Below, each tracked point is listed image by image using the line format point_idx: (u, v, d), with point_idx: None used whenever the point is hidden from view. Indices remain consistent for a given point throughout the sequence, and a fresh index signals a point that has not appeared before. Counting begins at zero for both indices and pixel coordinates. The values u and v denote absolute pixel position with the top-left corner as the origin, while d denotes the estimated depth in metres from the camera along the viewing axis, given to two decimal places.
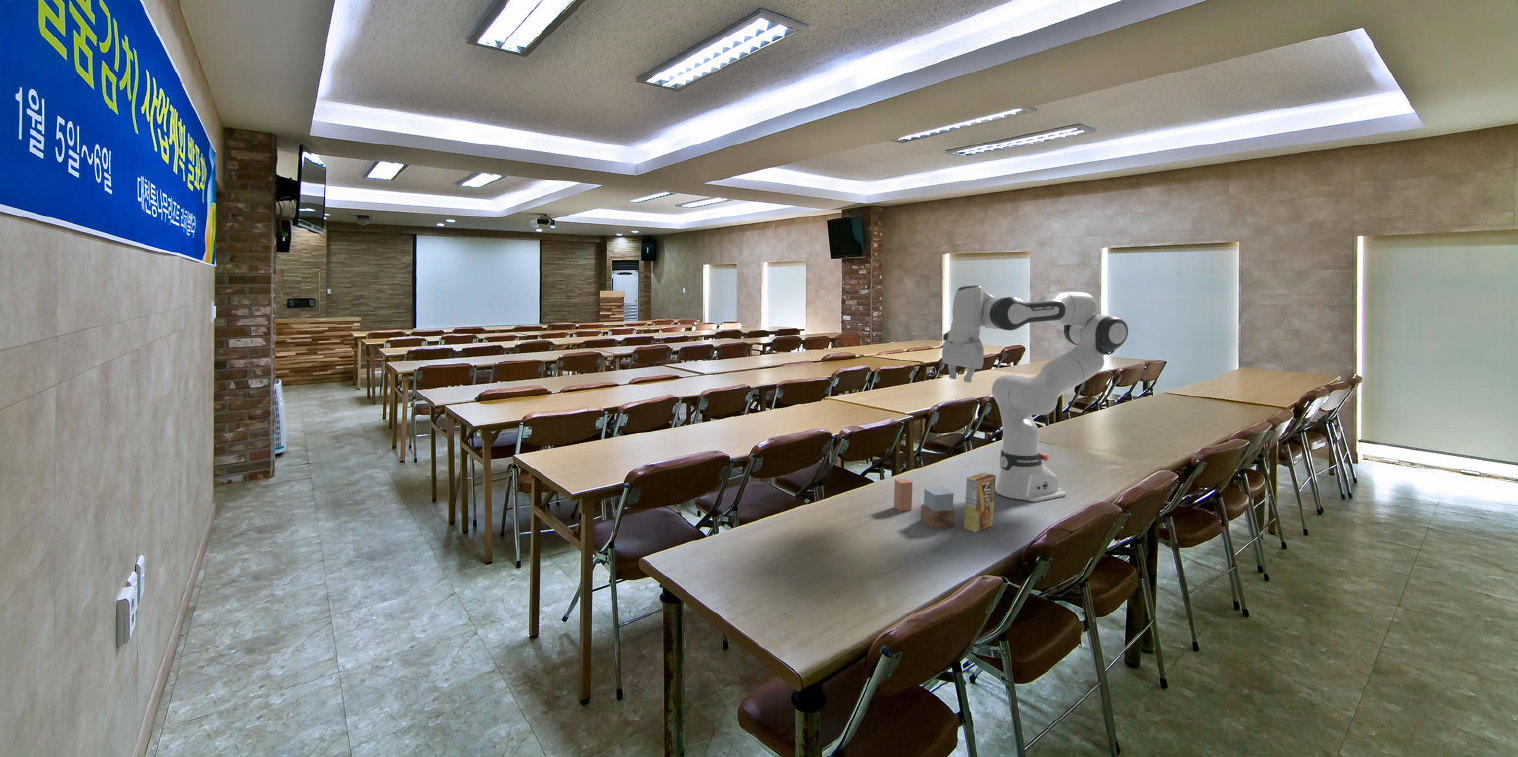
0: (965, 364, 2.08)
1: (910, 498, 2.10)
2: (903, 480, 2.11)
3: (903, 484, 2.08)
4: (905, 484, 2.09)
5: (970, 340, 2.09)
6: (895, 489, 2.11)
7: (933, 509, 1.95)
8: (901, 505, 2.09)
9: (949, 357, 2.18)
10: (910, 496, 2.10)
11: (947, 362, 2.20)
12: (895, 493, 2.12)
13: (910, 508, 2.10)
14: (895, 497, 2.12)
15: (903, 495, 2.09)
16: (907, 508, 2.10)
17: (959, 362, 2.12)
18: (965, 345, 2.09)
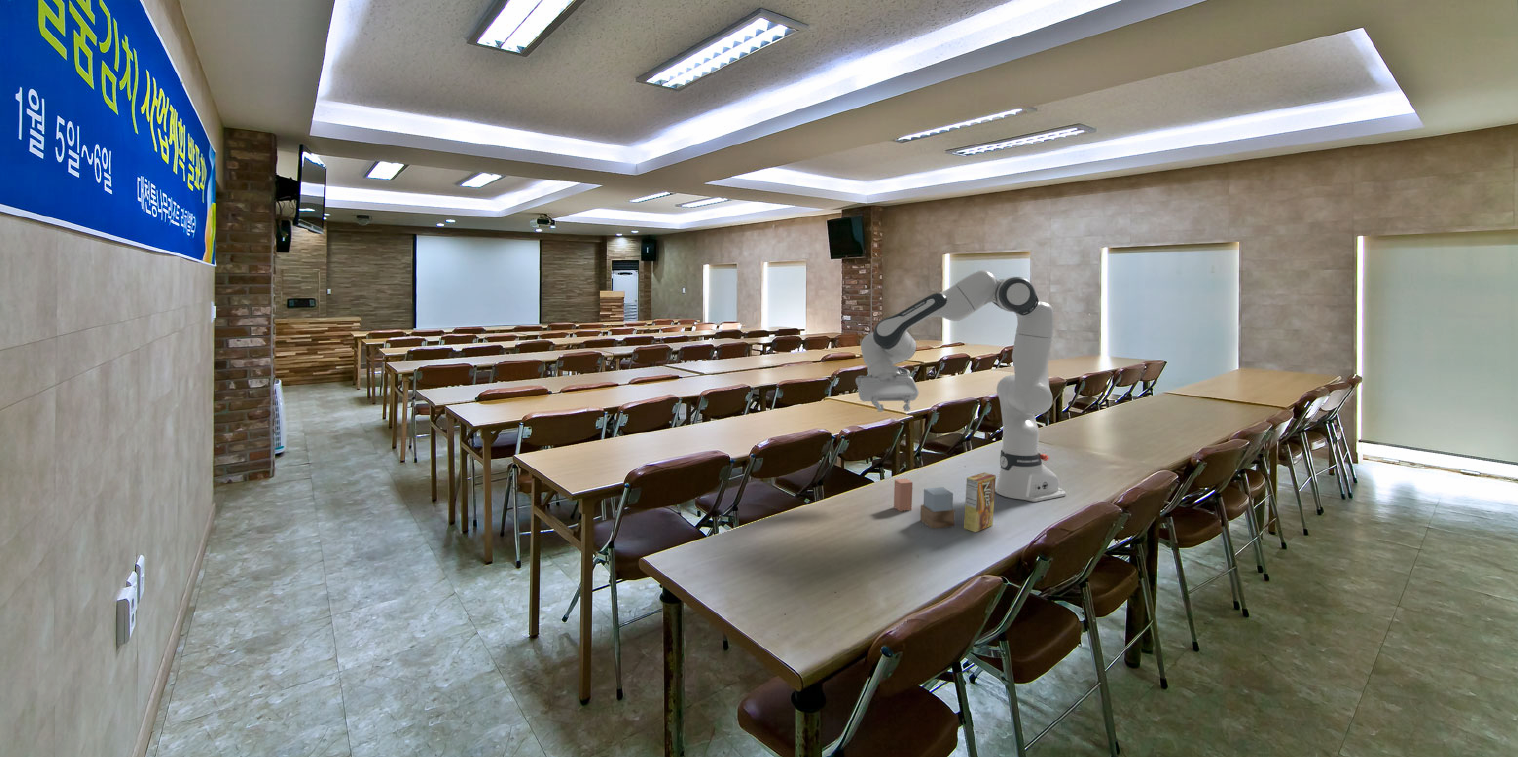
0: None
1: (910, 498, 2.10)
2: (903, 480, 2.11)
3: (903, 484, 2.08)
4: (905, 484, 2.09)
5: None
6: (895, 489, 2.11)
7: (933, 509, 1.95)
8: (901, 505, 2.09)
9: None
10: (910, 496, 2.10)
11: None
12: (895, 493, 2.12)
13: (910, 508, 2.10)
14: (895, 497, 2.12)
15: (903, 495, 2.09)
16: (907, 508, 2.10)
17: None
18: None
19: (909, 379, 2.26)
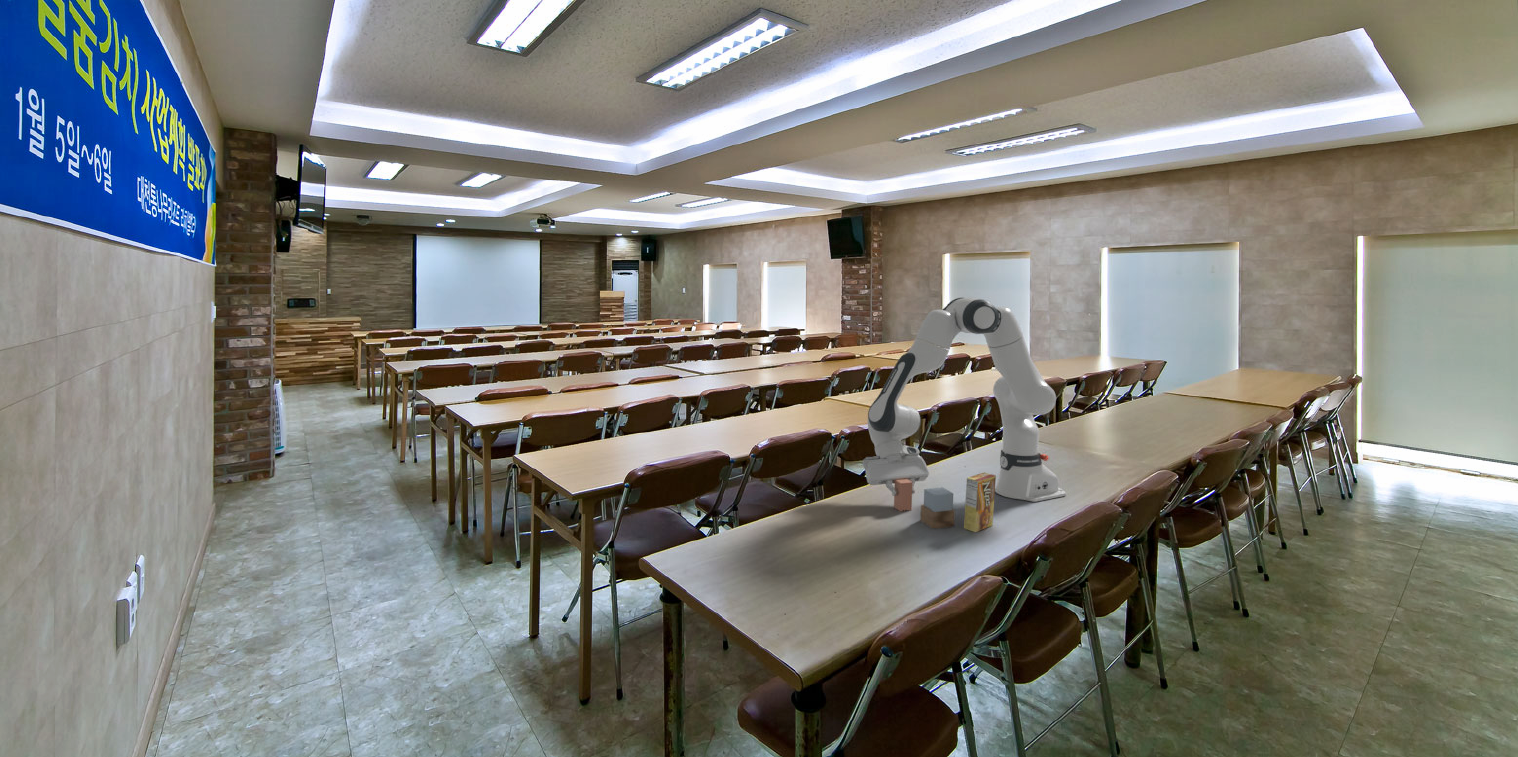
0: None
1: (910, 498, 2.10)
2: (903, 480, 2.11)
3: (903, 483, 2.08)
4: (905, 484, 2.09)
5: None
6: None
7: (933, 509, 1.95)
8: (901, 505, 2.09)
9: None
10: (910, 496, 2.10)
11: None
12: None
13: (910, 508, 2.10)
14: (895, 497, 2.12)
15: (903, 494, 2.09)
16: (907, 508, 2.10)
17: None
18: None
19: (919, 459, 2.17)
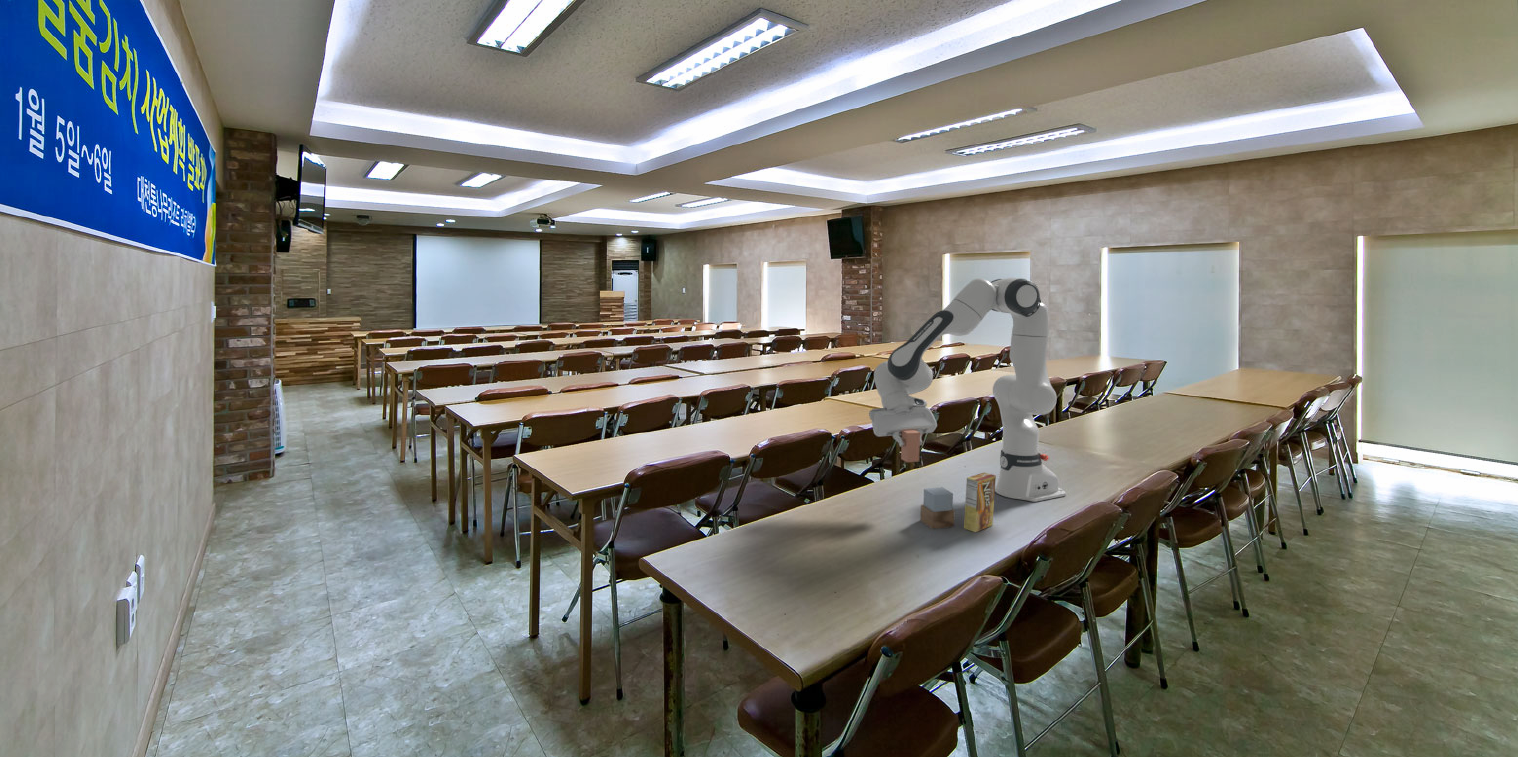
0: None
1: (918, 449, 2.05)
2: (910, 431, 2.07)
3: (910, 434, 2.04)
4: (912, 434, 2.04)
5: None
6: None
7: (932, 509, 1.95)
8: (908, 456, 2.05)
9: None
10: (917, 446, 2.05)
11: None
12: None
13: (918, 459, 2.06)
14: (902, 448, 2.08)
15: (910, 445, 2.05)
16: (915, 459, 2.06)
17: None
18: None
19: (926, 410, 2.12)
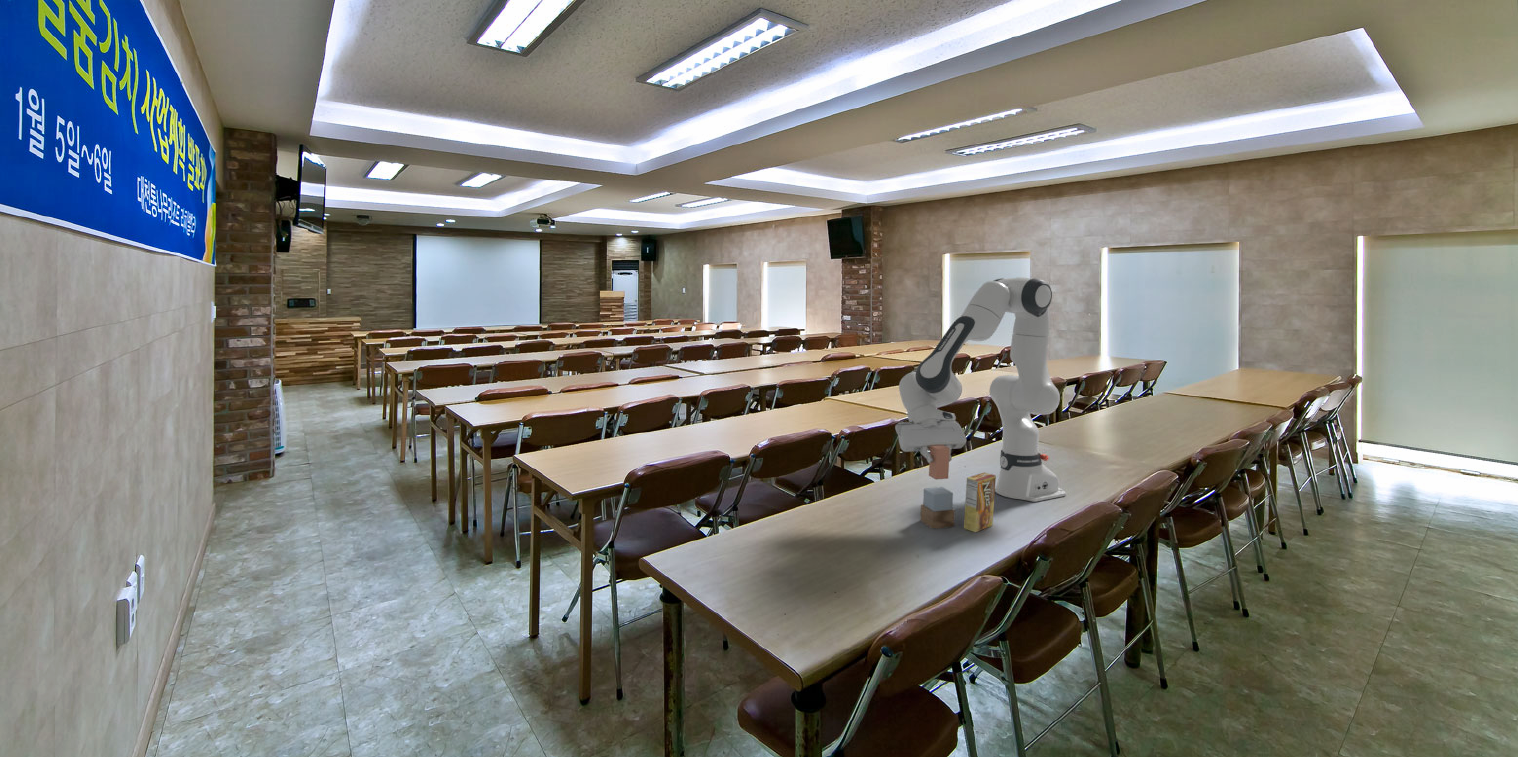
0: None
1: (947, 465, 1.95)
2: (939, 446, 1.96)
3: (940, 449, 1.94)
4: (942, 450, 1.94)
5: None
6: None
7: (933, 509, 1.96)
8: (937, 473, 1.95)
9: None
10: (946, 463, 1.95)
11: None
12: None
13: (947, 476, 1.96)
14: (930, 464, 1.97)
15: (940, 461, 1.94)
16: (944, 476, 1.95)
17: None
18: None
19: (955, 424, 2.02)
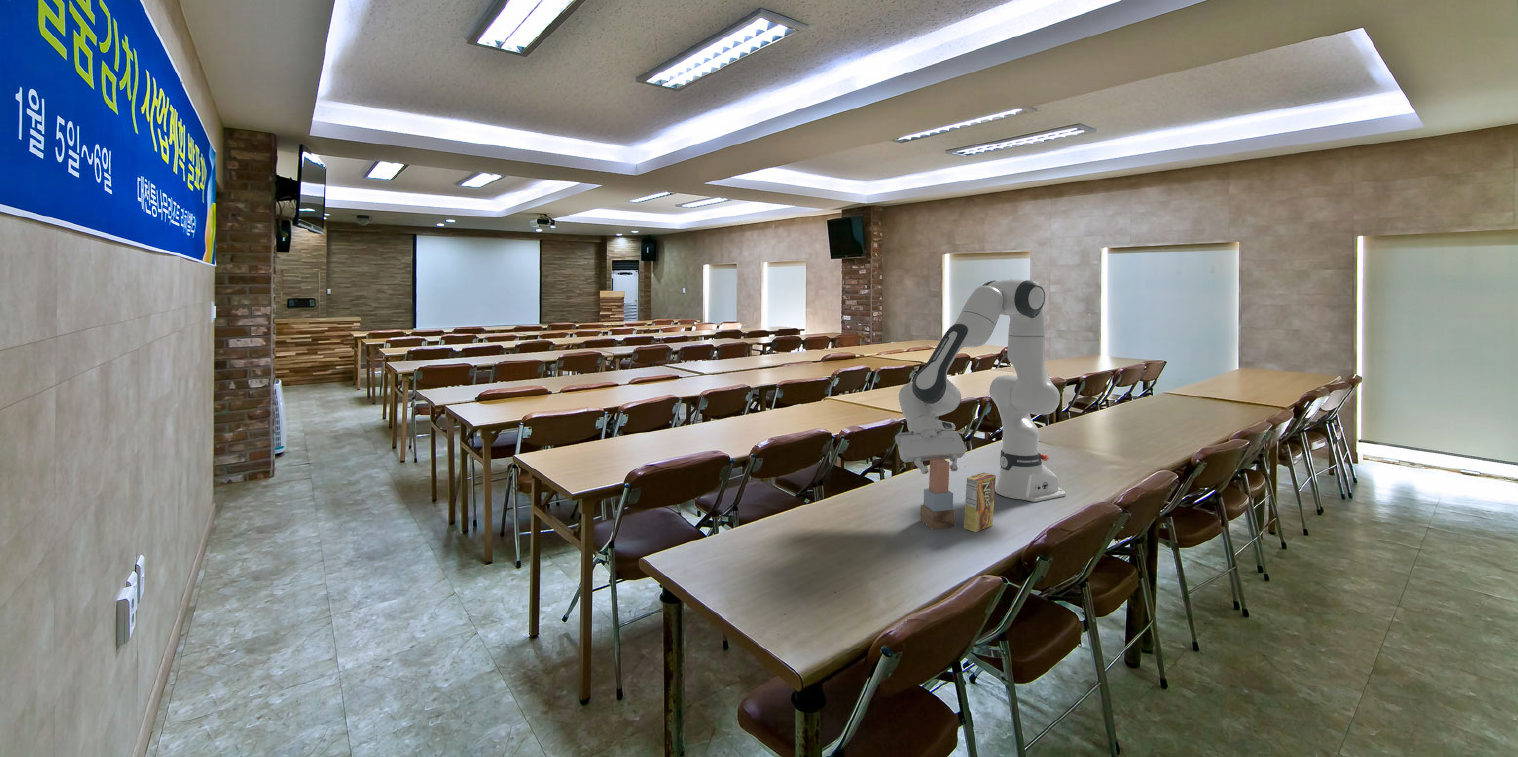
0: None
1: (947, 479, 1.96)
2: (939, 460, 1.97)
3: (939, 464, 1.94)
4: (942, 464, 1.95)
5: None
6: (931, 470, 1.98)
7: (933, 509, 1.95)
8: (937, 487, 1.95)
9: None
10: (946, 477, 1.96)
11: None
12: (931, 474, 1.98)
13: (947, 490, 1.96)
14: (930, 478, 1.98)
15: (939, 475, 1.95)
16: (944, 490, 1.96)
17: None
18: None
19: (955, 434, 2.03)
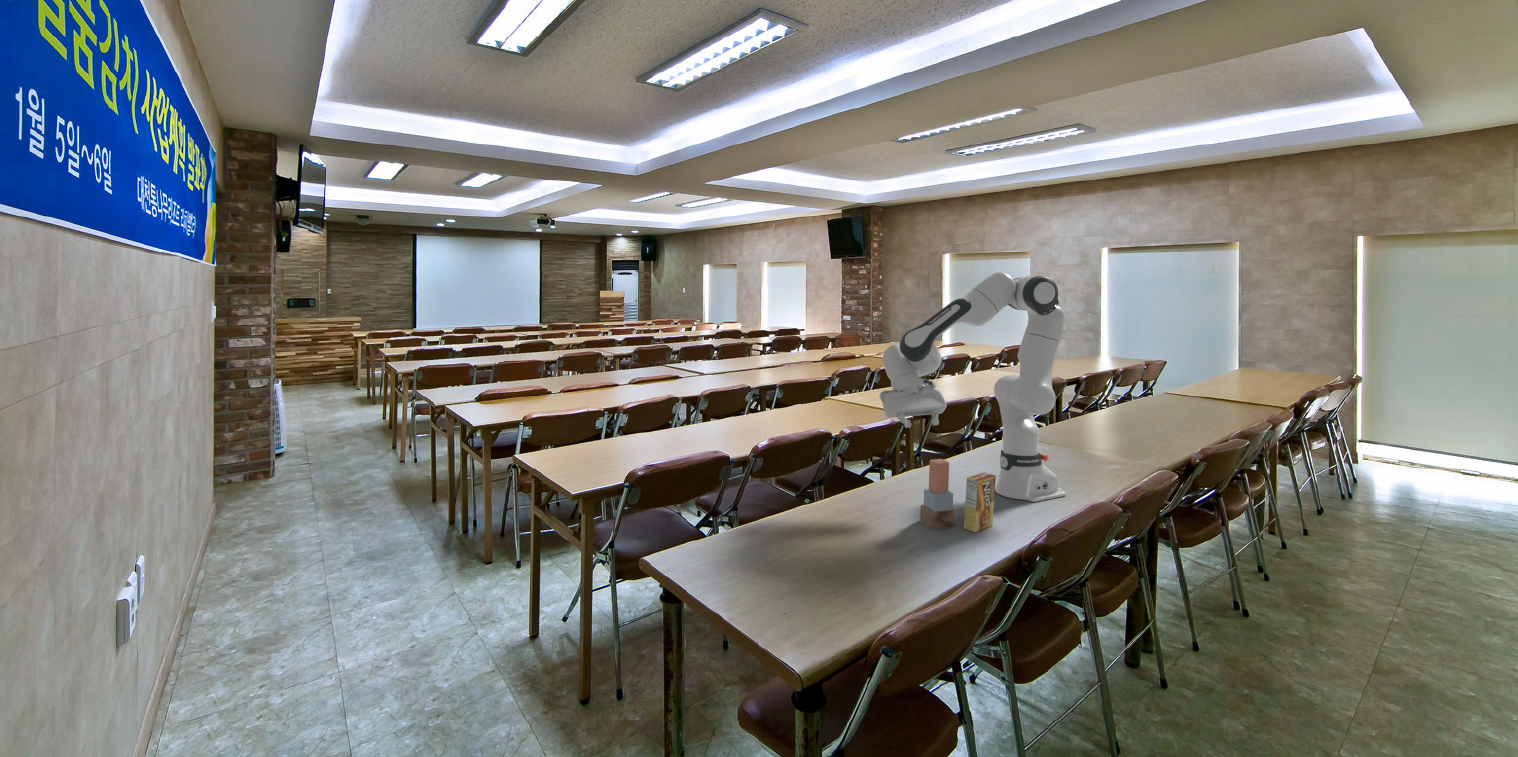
0: None
1: (947, 479, 1.96)
2: (939, 460, 1.97)
3: (939, 464, 1.94)
4: (941, 464, 1.95)
5: None
6: (930, 470, 1.97)
7: (933, 509, 1.95)
8: (937, 487, 1.95)
9: None
10: (946, 477, 1.96)
11: None
12: (930, 474, 1.97)
13: (947, 490, 1.96)
14: (930, 478, 1.98)
15: (939, 476, 1.95)
16: (944, 490, 1.96)
17: None
18: None
19: (936, 391, 2.15)
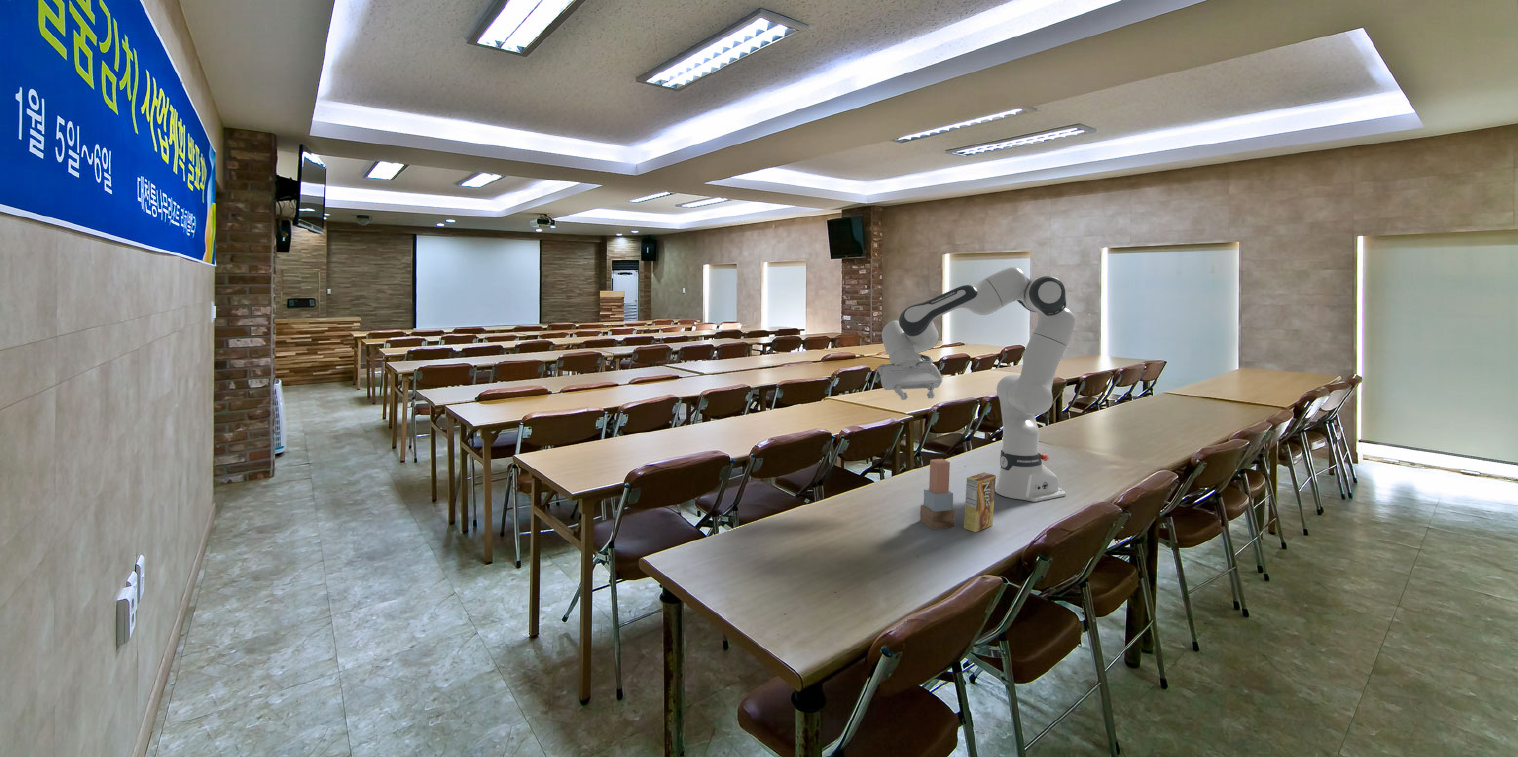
0: None
1: (947, 479, 1.96)
2: (939, 460, 1.97)
3: (940, 464, 1.94)
4: (942, 464, 1.94)
5: None
6: (931, 470, 1.97)
7: (933, 509, 1.95)
8: (938, 487, 1.95)
9: None
10: (947, 477, 1.96)
11: None
12: (931, 474, 1.97)
13: (947, 490, 1.96)
14: (930, 478, 1.98)
15: (940, 476, 1.95)
16: (944, 490, 1.96)
17: None
18: None
19: (932, 366, 2.22)
